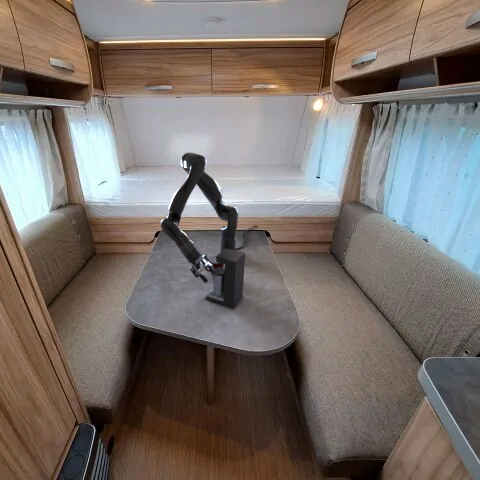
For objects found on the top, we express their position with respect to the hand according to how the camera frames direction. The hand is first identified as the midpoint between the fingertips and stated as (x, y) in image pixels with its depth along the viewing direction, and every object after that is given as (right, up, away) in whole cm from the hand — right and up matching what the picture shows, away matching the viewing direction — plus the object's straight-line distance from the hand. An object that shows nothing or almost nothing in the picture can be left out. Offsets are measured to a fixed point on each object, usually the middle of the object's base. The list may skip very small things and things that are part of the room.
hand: (211, 277), depth 128 cm
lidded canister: (+4, -8, +1) cm, 9 cm away
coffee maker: (+6, -10, 0) cm, 12 cm away
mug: (+2, -2, +19) cm, 19 cm away
